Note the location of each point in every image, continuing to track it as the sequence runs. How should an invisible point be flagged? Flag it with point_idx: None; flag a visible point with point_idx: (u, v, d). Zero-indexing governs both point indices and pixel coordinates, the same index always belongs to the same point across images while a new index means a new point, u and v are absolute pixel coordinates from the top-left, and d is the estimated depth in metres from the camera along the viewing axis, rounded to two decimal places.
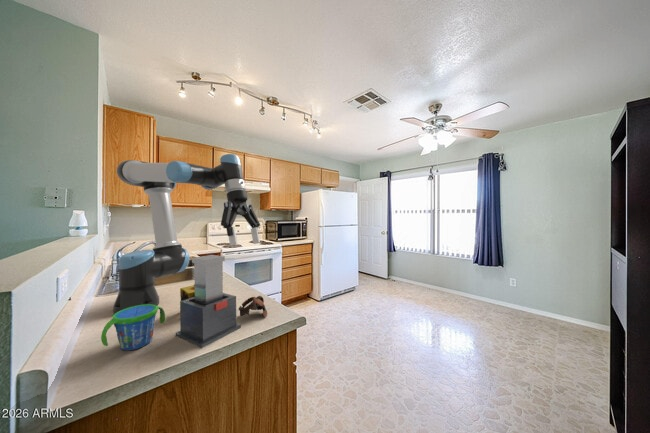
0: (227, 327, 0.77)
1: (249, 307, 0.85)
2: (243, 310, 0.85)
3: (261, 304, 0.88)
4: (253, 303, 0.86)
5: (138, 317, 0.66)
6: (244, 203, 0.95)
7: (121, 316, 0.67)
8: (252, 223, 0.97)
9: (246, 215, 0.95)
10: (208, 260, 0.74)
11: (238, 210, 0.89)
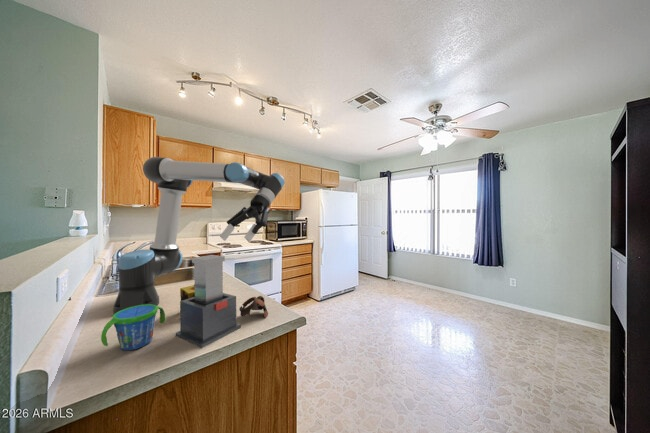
0: (227, 327, 0.77)
1: (250, 307, 0.85)
2: (244, 310, 0.85)
3: (262, 304, 0.88)
4: (254, 303, 0.86)
5: (138, 317, 0.66)
6: None
7: (121, 316, 0.67)
8: (236, 223, 0.96)
9: (245, 217, 0.96)
10: (208, 260, 0.74)
11: None
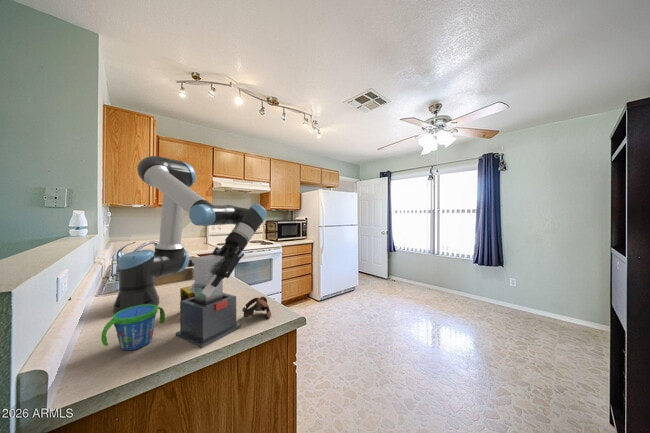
0: (227, 327, 0.77)
1: (253, 308, 0.84)
2: (247, 311, 0.84)
3: (265, 305, 0.87)
4: (257, 304, 0.85)
5: (138, 317, 0.66)
6: None
7: (121, 316, 0.67)
8: None
9: None
10: (208, 260, 0.74)
11: None
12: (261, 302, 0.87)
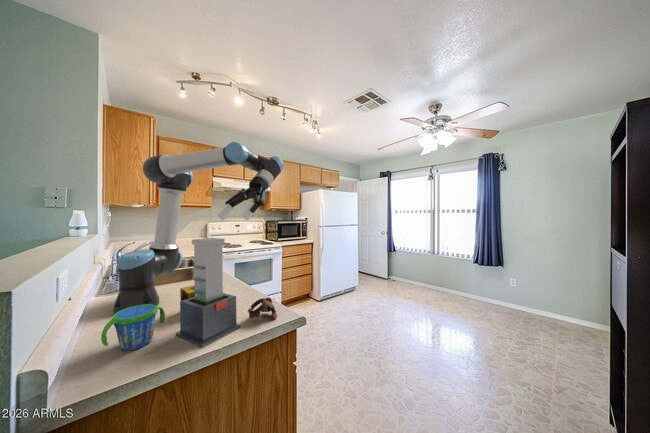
0: (227, 327, 0.77)
1: (260, 309, 0.83)
2: (253, 312, 0.83)
3: (271, 306, 0.86)
4: (263, 305, 0.84)
5: (138, 317, 0.66)
6: None
7: (121, 316, 0.67)
8: (235, 203, 0.96)
9: (244, 198, 0.97)
10: (208, 241, 0.73)
11: None
12: (267, 303, 0.86)
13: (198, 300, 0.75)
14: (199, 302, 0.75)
